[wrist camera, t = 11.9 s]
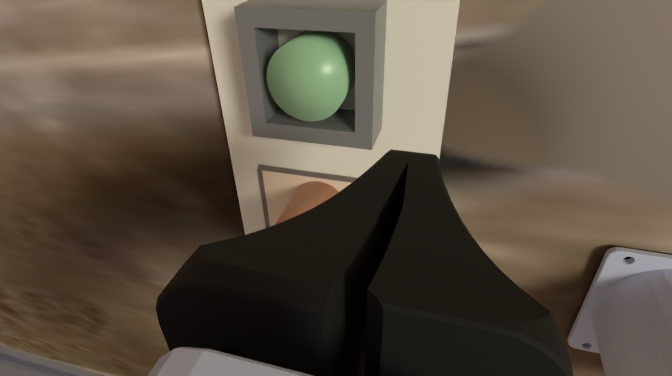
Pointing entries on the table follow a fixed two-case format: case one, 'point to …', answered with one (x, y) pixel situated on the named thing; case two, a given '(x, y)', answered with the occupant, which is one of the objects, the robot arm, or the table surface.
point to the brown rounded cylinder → (307, 199)
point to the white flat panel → (335, 161)
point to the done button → (311, 75)
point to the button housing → (315, 15)
